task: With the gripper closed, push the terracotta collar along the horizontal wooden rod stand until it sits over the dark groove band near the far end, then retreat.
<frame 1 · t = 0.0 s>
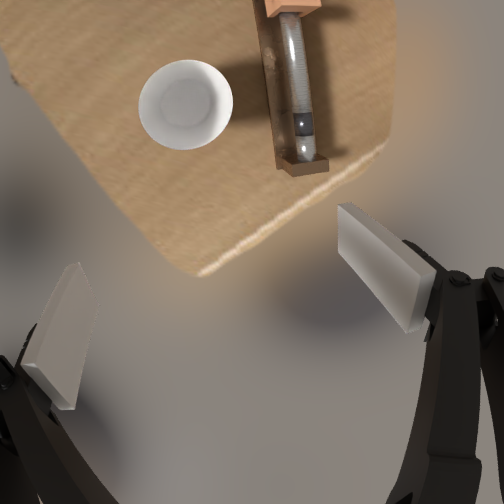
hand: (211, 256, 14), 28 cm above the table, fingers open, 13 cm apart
wooden rod stand: (285, 71, 35), on the table
collar: (291, 0, 25), point 6 cm above the table, slide at 0.0 cm
cup: (186, 103, 35), on the table
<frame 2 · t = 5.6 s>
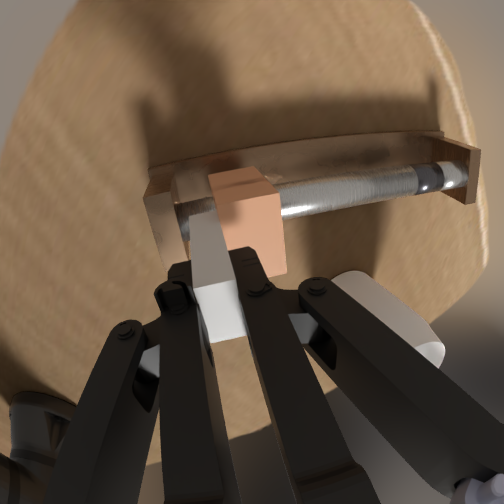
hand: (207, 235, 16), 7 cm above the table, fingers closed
wooden rod stand: (321, 172, 24), on the table
collar: (244, 219, 18), point 6 cm above the table, slide at 1.4 cm, touching gripper
cup: (343, 295, 31), on the table
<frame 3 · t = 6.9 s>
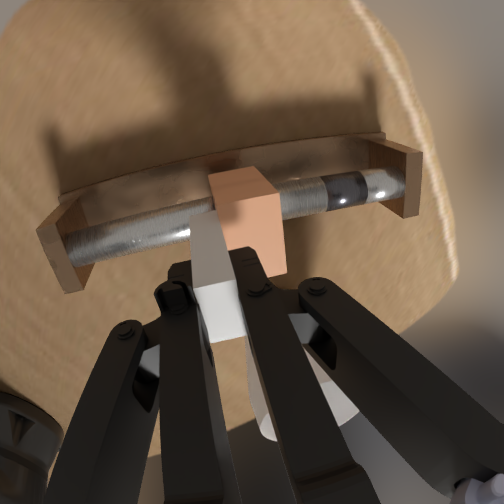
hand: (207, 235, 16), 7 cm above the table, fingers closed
wooden rod stand: (229, 189, 23), on the table
collar: (244, 219, 18), point 6 cm above the table, slide at 9.0 cm, touching gripper
cup: (275, 314, 30), on the table
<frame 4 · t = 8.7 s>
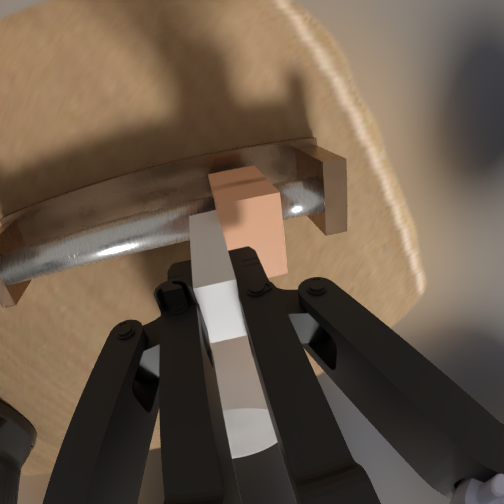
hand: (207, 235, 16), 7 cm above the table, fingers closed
wooden rod stand: (145, 208, 22), on the table
collar: (244, 219, 18), point 6 cm above the table, slide at 15.6 cm, touching gripper
cup: (211, 329, 29), on the table
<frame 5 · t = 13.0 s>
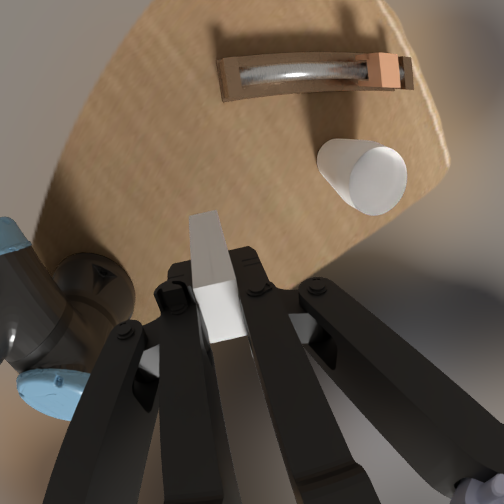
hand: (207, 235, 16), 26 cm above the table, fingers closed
wooden rod stand: (313, 71, 36), on the table
collar: (377, 70, 32), point 6 cm above the table, slide at 15.7 cm
cup: (335, 159, 44), on the table
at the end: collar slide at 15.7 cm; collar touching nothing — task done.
